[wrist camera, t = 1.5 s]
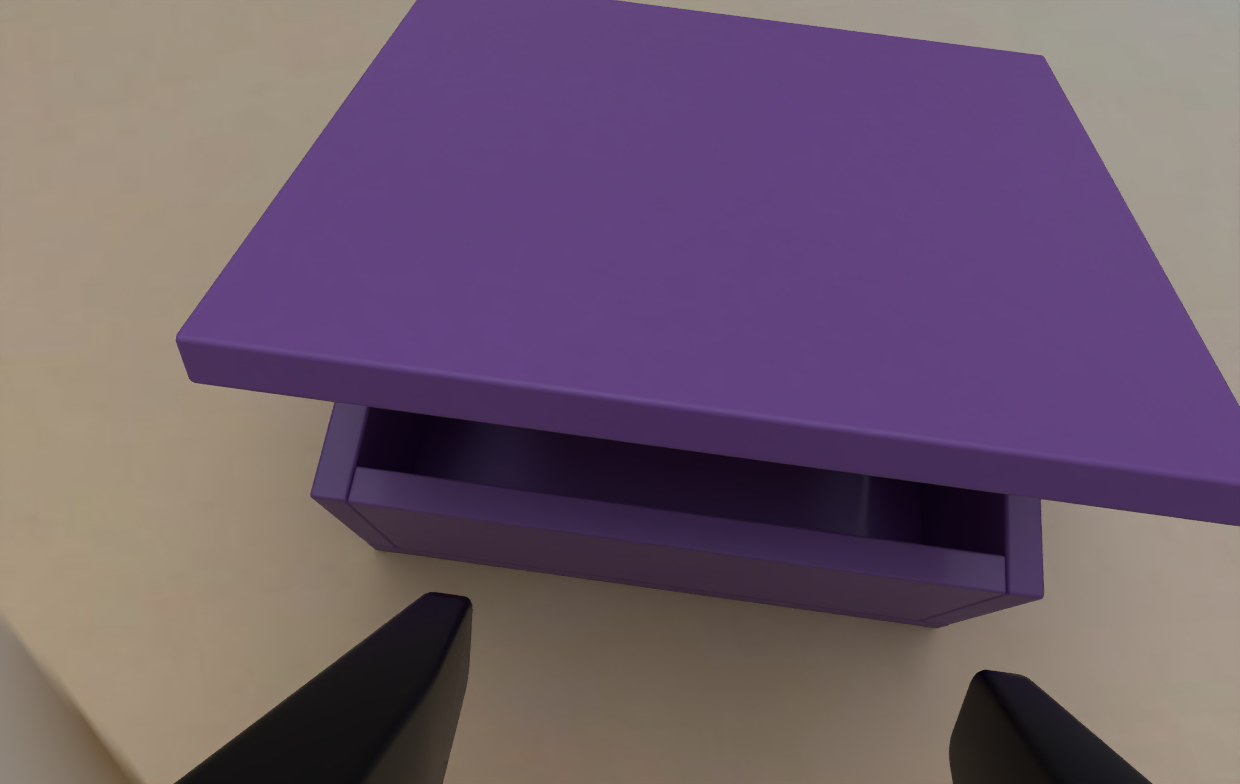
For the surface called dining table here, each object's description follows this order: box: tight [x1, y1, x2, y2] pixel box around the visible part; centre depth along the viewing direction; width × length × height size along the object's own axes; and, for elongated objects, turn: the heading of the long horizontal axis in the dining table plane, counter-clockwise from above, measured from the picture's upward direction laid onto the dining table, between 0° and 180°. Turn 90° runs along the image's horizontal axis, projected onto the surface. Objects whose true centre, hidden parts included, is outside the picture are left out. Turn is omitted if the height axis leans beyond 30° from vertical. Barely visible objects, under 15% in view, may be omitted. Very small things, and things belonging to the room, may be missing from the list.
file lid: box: [176, 0, 1240, 526], centre depth 15 cm, size 12×13×1 cm
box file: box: [310, 402, 1044, 628], centre depth 20 cm, size 11×13×5 cm
